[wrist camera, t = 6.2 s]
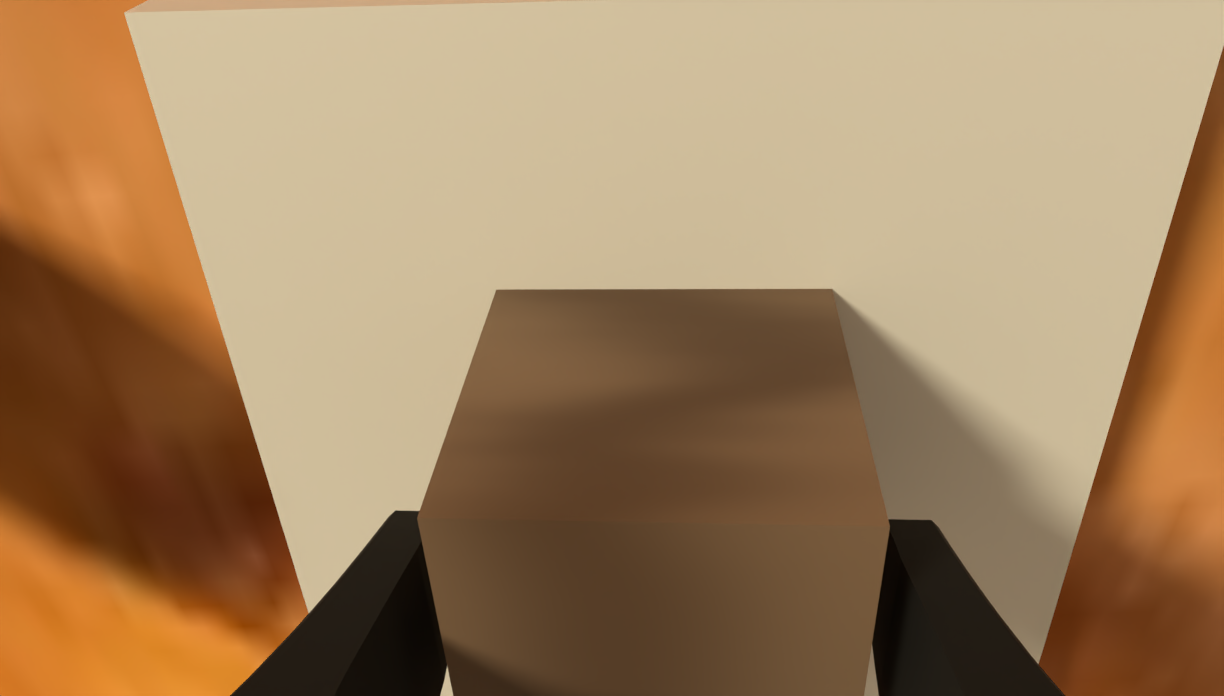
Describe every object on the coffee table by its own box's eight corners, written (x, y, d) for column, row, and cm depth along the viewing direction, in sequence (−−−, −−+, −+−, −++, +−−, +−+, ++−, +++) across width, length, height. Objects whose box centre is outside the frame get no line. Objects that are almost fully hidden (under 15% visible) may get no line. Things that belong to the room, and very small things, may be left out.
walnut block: (832, 289, 14) (889, 526, 10) (809, 538, 17) (846, 807, 13) (496, 289, 15) (417, 517, 10) (526, 532, 17) (472, 791, 13)
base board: (1172, -51, 13) (1242, -17, 12) (995, 640, 21) (1021, 720, 19) (190, -21, 14) (124, 12, 13) (361, 622, 22) (334, 697, 20)
